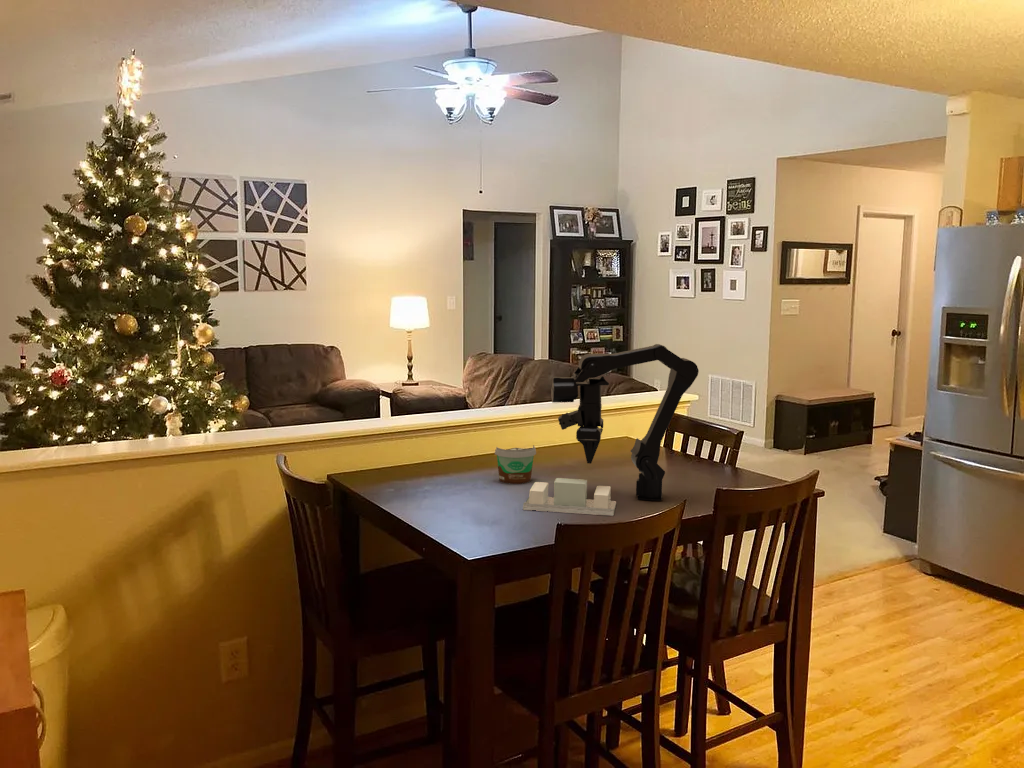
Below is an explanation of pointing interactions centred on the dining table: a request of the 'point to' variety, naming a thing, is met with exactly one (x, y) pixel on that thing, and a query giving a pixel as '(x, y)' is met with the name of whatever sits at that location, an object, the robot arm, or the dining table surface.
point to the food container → (515, 464)
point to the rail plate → (571, 507)
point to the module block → (570, 492)
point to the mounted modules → (540, 495)
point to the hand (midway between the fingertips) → (590, 459)
